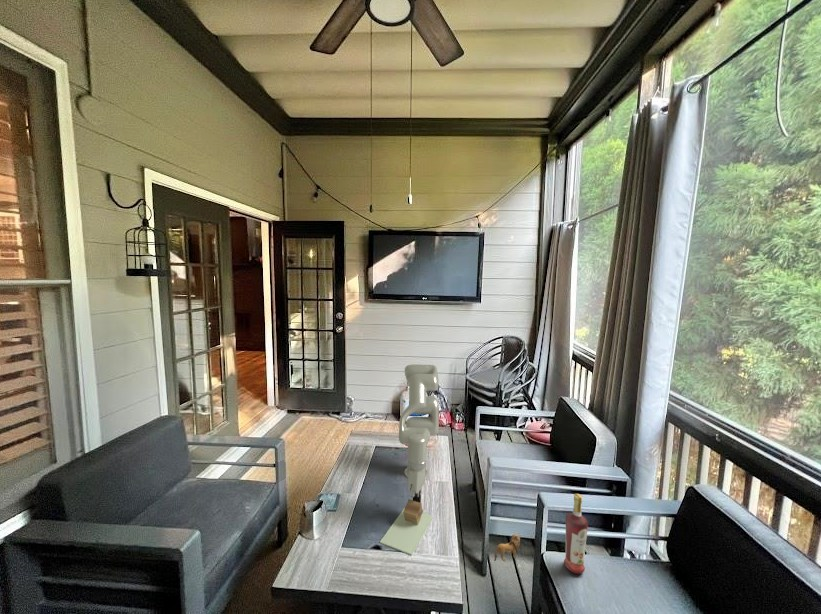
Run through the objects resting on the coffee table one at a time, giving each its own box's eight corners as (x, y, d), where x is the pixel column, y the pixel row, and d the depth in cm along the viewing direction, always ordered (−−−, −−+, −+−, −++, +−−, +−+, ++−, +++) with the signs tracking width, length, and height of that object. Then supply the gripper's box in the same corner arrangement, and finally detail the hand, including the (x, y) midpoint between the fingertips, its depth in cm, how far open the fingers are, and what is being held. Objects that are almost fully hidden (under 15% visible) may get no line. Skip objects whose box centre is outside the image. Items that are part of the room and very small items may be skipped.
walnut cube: (410, 508, 151) (408, 499, 149) (423, 512, 149) (421, 503, 146) (405, 520, 146) (403, 511, 144) (417, 525, 144) (416, 516, 141)
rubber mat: (405, 508, 155) (405, 507, 155) (433, 517, 149) (433, 516, 149) (379, 543, 134) (379, 541, 134) (411, 555, 129) (411, 554, 129)
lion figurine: (514, 547, 133) (515, 529, 133) (522, 555, 130) (523, 537, 129) (490, 558, 128) (491, 540, 127) (498, 566, 124) (499, 548, 124)
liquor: (573, 579, 119) (577, 504, 117) (558, 562, 126) (562, 491, 124) (589, 574, 121) (594, 500, 119) (574, 558, 128) (578, 488, 126)
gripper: (416, 453, 156) (415, 491, 158) (402, 470, 143) (401, 510, 144) (431, 457, 153) (430, 495, 155) (418, 474, 140) (417, 516, 141)
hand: (416, 503), depth 150 cm, fingers closed
